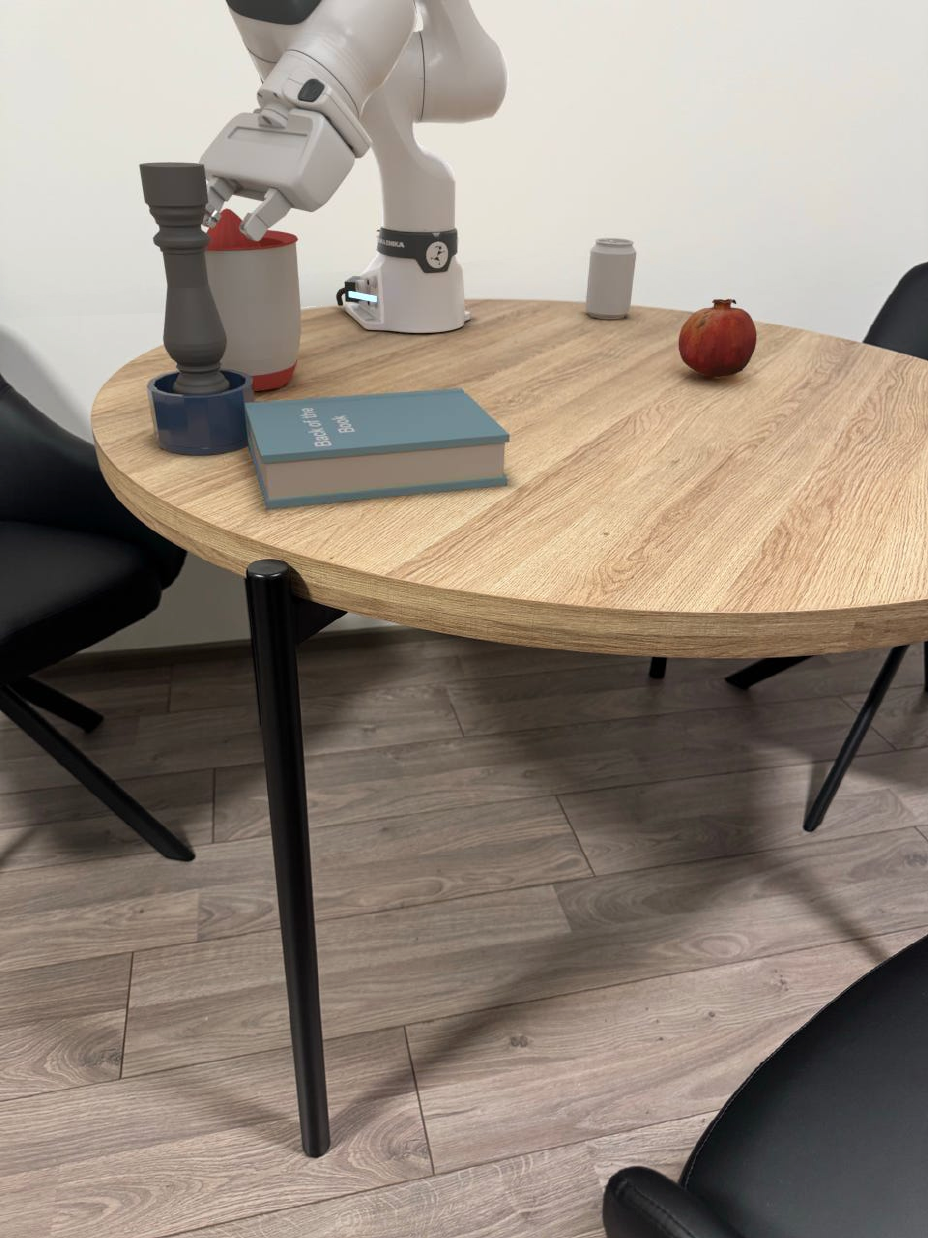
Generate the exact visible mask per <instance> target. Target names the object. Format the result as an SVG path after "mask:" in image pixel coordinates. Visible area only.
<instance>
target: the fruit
mask: <svg viewBox="0 0 928 1238" xmlns="http://www.w3.org/2000/svg"><path fill="white" fill-rule="evenodd" d="M711 303H712V304H713V306H711V307H703V308H701V309H699V310H696V311H695V312H694V313H692V314H691V315H690V316H689V317H688V319H687V320H686V321H685V322H684V323H683V325H682V327H681V328H680V332H679V335H678V352H679V355H680V358H681V360H682V362H683V363H684V364H685V365H686V366H687V367H689V368H690V369H692V370H693V371H695V372H697V373H698V374H700V375H702V376H704V377H708V378H724V377H731V376H734V375H736V374H737V373H740V372H743V371H744V369H745V368H746V367H747V366H748V365H749V363H750V361H751V359H752V357H753V355H754V353H755V350H756V345H757V328H756V325H755V322H754V320H753V318H752V315H750V313H749V312H747V311H746V310H744V309H743V308H740V307H732V306H731V305H732V304H734V305H737V301H736V299H732V298H726V299H721V298H720V299H719V298H718V299H717V298H715V299H713V300H712V301H711Z"/></svg>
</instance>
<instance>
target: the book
mask: <svg viewBox="0 0 928 1238" xmlns="http://www.w3.org/2000/svg"><path fill="white" fill-rule="evenodd" d="M244 409H245V418H246V427H247V436H248V444H249V446H248V449H249V454H250V456H251V460H252V464H253V467H254V471H255V474H256V478H257V481H258V485H259V488H260V491H261V495H262V498H263V502H264V505H265V508H266V510H274V509H283V508H284V509H285V508H293V507H303V506H304V507H305V506H315V505H324V504H334V503H343V502H352V501H354V502H355V501H363V500H374V499H383V498H393V497H394V498H395V497H404V496H412V495H413V496H414V495H421V494H433V493H442V492H453V491H464V490H472V489H474V490H475V489H482V488H483V489H484V488H491V487H502V486H503V487H504V486H508V477H507V476H506V475H505V474H504V469H505V468H504V467H505V446H506V443H510V436H511V435H510V433H509V432H508V431H506V429H505V428H503V427H502V425H500V424H499V423H498V422H497V421H496V420H495V419H494V418H493V417H492V416H491V415H490V414H489V413H488V412H487V411H486V410H484V408H483V407H482V406H481V405H479V404H478V403H477V402H476V400H475V399H473V397H471V396H470V395H469V394H468V393H467V392H465V390H464V389H463V388H462V387H457V388H455V387H454V388H442V389H429V390H413V391H412V390H411V391H399V392H383V393H369V394H368V393H367V394H355V395H340V396H339V395H338V396H325V397H323V396H322V397H311V398H295V399H283V400H282V399H281V400H269V401H268V400H266V401H255V402H250V403H244Z"/></svg>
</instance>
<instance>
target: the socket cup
mask: <svg viewBox="0 0 928 1238" xmlns="http://www.w3.org/2000/svg"><path fill="white" fill-rule="evenodd" d="M219 372H221V373H222V374H223V375H224V377H225V379H226V380H228V381H229V383H230V388H229V391H226V392H222V393H215V394H207V395H180V394H176V393H175V392H174V391H173V385H174V383H175V382H176V380H177V377H178V375H179V374H180V371H179V370H178V369H177V370H174V371H170V372H166V373H162V374H159V375H157V376H155V377H153V378H151V379H149V381H148V382H147V384H146V391H147V397H148V398H147V399H148V404H149V409H150V416H151V422H152V427H153V433H154V437H155V440H156V444H157V445H158V447H159V448H160V449H163V450H164V451H166V452H169V453H173V454H179V455H186V456H187V455H188V456H210V455H219V454H225V453H231V452H235V451H239V450H241V449H244V448H247V447H249V444H248V436H247V427H246V418H245V409H244V403H250V402H256V396H255V395H256V394H255V391H254V384H253V378H252V377H250V376H249V375H248V374H246V373H243V372H239V371H236V370H231V369H221V368H220V369H219Z"/></svg>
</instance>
